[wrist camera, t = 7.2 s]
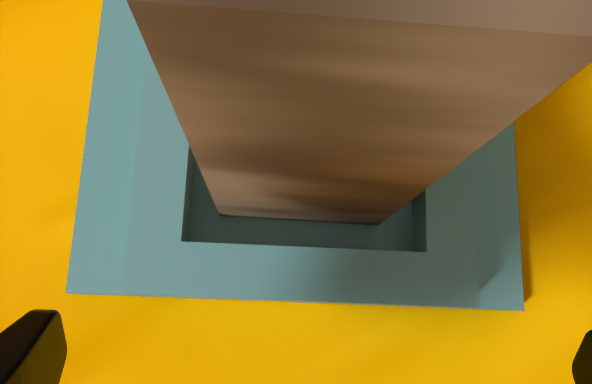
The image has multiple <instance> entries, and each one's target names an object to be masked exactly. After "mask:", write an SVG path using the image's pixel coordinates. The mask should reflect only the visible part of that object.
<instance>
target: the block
mask: <svg viewBox="0 0 592 384" xmlns="http://www.w3.org/2000/svg"><path fill="white" fill-rule="evenodd" d="M127 3H128V5H129V7H130V10H131V12H132V14H133V17H134V19H135V21H136V23H137V26H138V28H139V30H140V33H141V35H142V37H143V40H144V42H145V44H146V46H147V49H148V51H149V53H150V56H151V58H152V60H153V63H154V65H155V67H156V70H157V72H158V74H159V76H160V79H161V81H162V83H163V86H164V88H165V90H166V93H167V95H168V97H169V99H170V102H171V104H172V106H173V109H174V111H175V113H176V116H177V118H178V120H179V123H180V125H181V127H182V129H183V132H184V134H185V136H186V139H187V141H188V143H189V146H190V148H191V150H192V152H193V155H194V157H195V159H196V162H197V164H198V166H199V169H200V171H201V173H202V176H203V178H204V180H205V182H206V185H207V187H208V189H209V192H210V194H211V196H212V199H213V201H214V203H215V205H216V208H217V210H218V212H219V215H220V216H228V217H245V218H262V219H279V220H295V221H312V222H329V223H346V224H363V225H380V224H381V223H382V222H384V221H385V220H386V219H388V218H389V217H390V216H391V215H393V214H394V213H395V212H397V211H398V210H399V209H401V208H402V207H403V206H404V205H406V204H407V203H408V202H410V201H411V200H412V199H414V198H415V197H416V196H417V195H419V194H420V193H421V192H423V191H424V190H425V189H427V188H428V187H429V186H430V185H432V184H433V183H434V182H436V181H437V180H438V179H440V178H441V177H442V176H443V175H445V174H446V173H447V172H449V171H450V170H451V169H453V168H454V167H455V166H456V165H458V164H459V163H460V162H462V161H463V160H464V159H466V158H467V157H468V156H469V155H471V154H472V153H473V152H475V151H476V150H477V149H479V148H480V147H481V146H483V145H484V144H485V143H486V142H488V141H489V140H490V139H492V138H493V137H494V136H496V135H497V134H498V133H499V132H501V131H502V130H503V129H505V128H506V127H507V126H509V125H510V124H511V123H512V122H514V121H515V120H516V119H518V118H519V117H520V116H522V115H523V114H524V113H525V112H527V111H528V110H529V109H531V108H532V107H533V106H535V105H536V104H537V103H538V102H540V101H541V100H542V99H544V98H545V97H546V96H548V95H549V94H550V93H551V92H553V91H554V90H555V89H557V88H558V87H559V86H561V85H562V84H563V83H564V82H566V81H567V80H568V79H570V78H571V77H572V76H574V75H575V74H576V73H578V72H579V71H580V70H581V69H583V68H584V67H585V66H587V65H588V64H589V63H591V62H592V0H127Z"/></svg>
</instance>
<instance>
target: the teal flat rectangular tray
mask: <svg viewBox="0 0 592 384" xmlns="http://www.w3.org/2000/svg"><path fill="white" fill-rule="evenodd" d="M66 293H71V294H95V295H121V296H147V297H173V298H199V299H224V300H250V301H276V302H302V303H328V304H354V305H380V306H406V307H432V308H458V309H483V310H509V311H524V295H523V277H522V259H521V241H520V222H519V204H518V186H517V168H516V150H515V132H514V122H512V123H511V124H510V125H509V126H507V127H506V128H505V129H503V130H502V131H501V132H499V133H498V134H497V135H496V136H494V137H493V138H492V139H490V140H489V141H488V142H486V143H485V144H484V145H483V146H481V147H480V148H479V149H477V150H476V151H475V152H473V153H472V154H471V155H469V156H468V157H467V158H466V159H464V160H463V161H462V162H460V163H459V164H458V165H456V166H455V167H454V168H453V169H451V170H450V171H449V172H447V173H446V174H445V175H443V176H442V177H441V178H440V179H438V180H437V181H436V182H434V183H433V184H432V185H430V186H429V187H428V188H427V189H425V190H424V191H423V192H421V193H420V194H419V195H417V196H416V197H415V198H414V199H412V200H411V201H410V202H408V203H407V204H406V205H404V206H403V207H402V208H401V209H399V210H398V211H397V212H395V213H394V214H393V215H391V216H390V217H389V218H388V219H386V220H385V221H384V222H382V223H381V224H380V225H363V224H346V223H329V222H312V221H295V220H279V219H262V218H245V217H228V216H220V215H219V212H218V210H217V208H216V205H215V203H214V201H213V199H212V196H211V194H210V192H209V189H208V187H207V185H206V182H205V180H204V178H203V176H202V173H201V171H200V169H199V166H198V164H197V162H196V159H195V157H194V155H193V152H192V150H191V148H190V146H189V143H188V141H187V139H186V136H185V134H184V132H183V129H182V127H181V125H180V123H179V120H178V118H177V116H176V113H175V111H174V109H173V106H172V104H171V102H170V99H169V97H168V95H167V93H166V90H165V88H164V86H163V83H162V81H161V79H160V76H159V74H158V72H157V70H156V67H155V65H154V63H153V60H152V58H151V56H150V53H149V51H148V49H147V46H146V44H145V42H144V40H143V37H142V35H141V33H140V30H139V28H138V26H137V23H136V21H135V19H134V17H133V14H132V12H131V10H130V7H129V5H128V3H127V0H103V5H102V13H101V21H100V29H99V37H98V44H97V52H96V60H95V68H94V76H93V83H92V91H91V99H90V107H89V115H88V123H87V130H86V138H85V146H84V154H83V162H82V169H81V177H80V185H79V193H78V201H77V208H76V216H75V224H74V232H73V240H72V248H71V255H70V263H69V271H68V279H67V287H66Z"/></svg>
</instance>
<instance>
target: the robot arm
mask: <svg viewBox="0 0 592 384" xmlns="http://www.w3.org/2000/svg"><path fill="white" fill-rule="evenodd" d="M66 355H67V343H66V339H65V334H64V329H63V324H62V319H61V316H60V314H59V312H58V311H56V310H43V309H35V310H31V311H29V312H28V313H26V314H25V315H24V316H22V317H21V318H20V319H18V320H17V321H16V322H14V323H13V324H12V325H10V326H9V327H8V328H6V329H5V330H4V331H2V332H1V333H0V384H59V382H60V378H61V375H62V371H63V368H64V364H65V360H66ZM572 374H573V378H574V381H575V384H592V330H590V331H588V332H587V333H586V334H585V336H584V338H583V341H582V343H581V345H580V347H579V349H578V351H577V353H576V356H575V358H574V360H573V364H572Z"/></svg>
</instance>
